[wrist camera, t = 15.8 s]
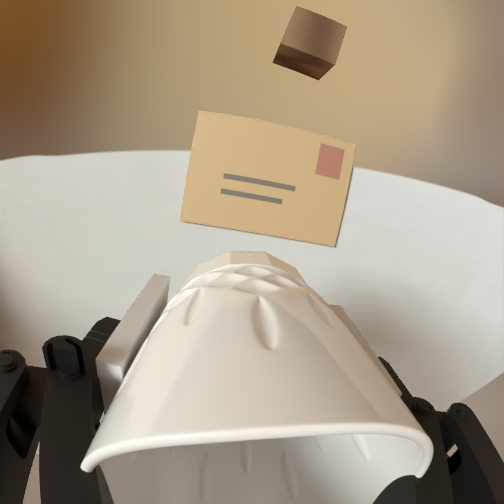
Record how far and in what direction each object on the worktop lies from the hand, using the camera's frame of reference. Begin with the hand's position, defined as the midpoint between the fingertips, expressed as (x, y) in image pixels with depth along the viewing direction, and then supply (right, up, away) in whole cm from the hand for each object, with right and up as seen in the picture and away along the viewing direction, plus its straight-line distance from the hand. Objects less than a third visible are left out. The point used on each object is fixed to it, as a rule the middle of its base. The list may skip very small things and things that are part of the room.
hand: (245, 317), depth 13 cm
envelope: (+2, +10, +14) cm, 17 cm away
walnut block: (+6, +24, +10) cm, 26 cm away
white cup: (0, 0, 0) cm, 0 cm away
